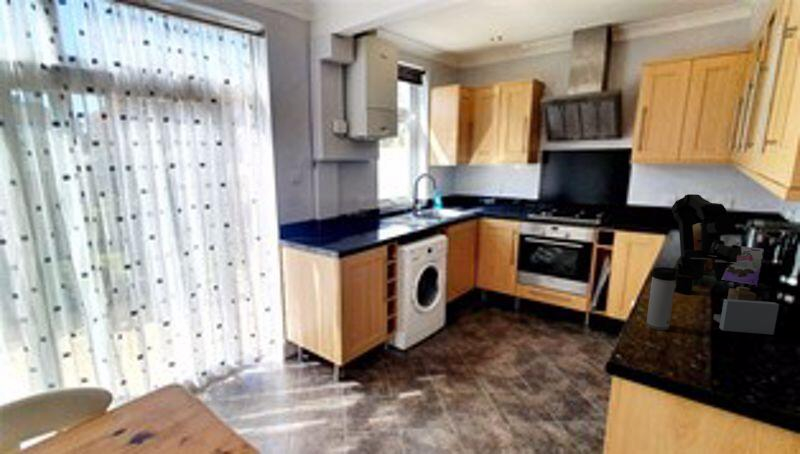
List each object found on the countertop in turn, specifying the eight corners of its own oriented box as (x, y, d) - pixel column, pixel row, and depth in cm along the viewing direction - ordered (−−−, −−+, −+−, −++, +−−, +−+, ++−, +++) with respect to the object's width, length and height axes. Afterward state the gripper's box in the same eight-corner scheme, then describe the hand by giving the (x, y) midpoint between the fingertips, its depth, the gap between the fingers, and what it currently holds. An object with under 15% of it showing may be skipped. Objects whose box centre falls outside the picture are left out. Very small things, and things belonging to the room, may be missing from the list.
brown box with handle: (723, 321, 131) (729, 284, 129) (740, 323, 130) (747, 285, 128) (732, 328, 126) (739, 289, 124) (750, 329, 125) (757, 290, 123)
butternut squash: (675, 269, 196) (681, 220, 192) (697, 268, 198) (704, 220, 194) (700, 277, 182) (708, 225, 178) (724, 276, 185) (732, 224, 181)
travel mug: (673, 331, 123) (682, 271, 120) (651, 329, 125) (658, 270, 121) (664, 323, 129) (672, 266, 126) (643, 321, 131) (650, 264, 127)
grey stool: (705, 318, 134) (709, 290, 132) (751, 321, 131) (756, 293, 130) (723, 330, 124) (727, 301, 123) (773, 334, 122) (779, 304, 120)
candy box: (717, 280, 178) (722, 245, 175) (718, 277, 183) (723, 243, 180) (757, 287, 169) (764, 250, 166) (758, 284, 173) (764, 248, 171)
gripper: (715, 233, 131) (714, 279, 129) (754, 239, 136) (753, 284, 134) (683, 234, 141) (681, 277, 140) (719, 240, 147) (719, 281, 145)
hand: (709, 280), depth 140 cm, fingers open, 9 cm apart
